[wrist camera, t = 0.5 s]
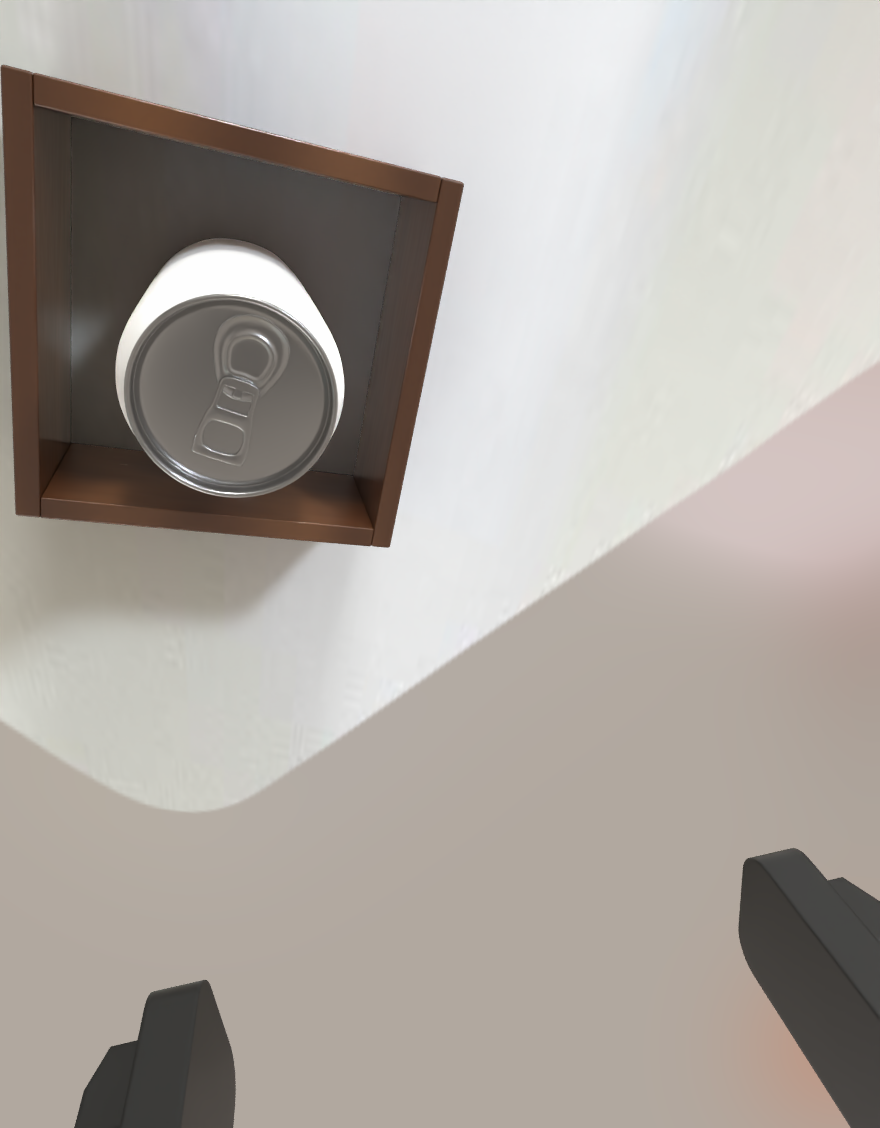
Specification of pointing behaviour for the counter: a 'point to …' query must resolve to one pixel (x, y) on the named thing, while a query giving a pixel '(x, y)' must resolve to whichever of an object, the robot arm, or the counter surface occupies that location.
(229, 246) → the can
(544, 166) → the counter surface
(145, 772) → the counter surface
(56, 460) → the crate
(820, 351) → the counter surface
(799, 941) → the robot arm
